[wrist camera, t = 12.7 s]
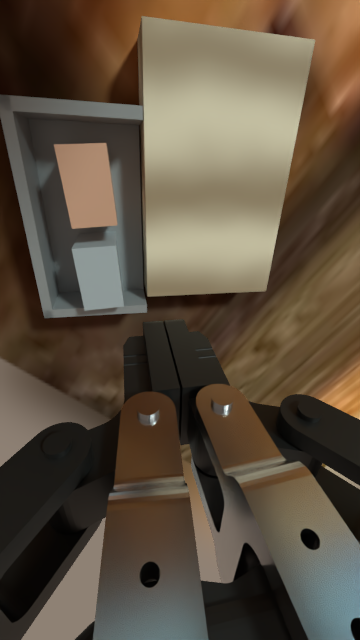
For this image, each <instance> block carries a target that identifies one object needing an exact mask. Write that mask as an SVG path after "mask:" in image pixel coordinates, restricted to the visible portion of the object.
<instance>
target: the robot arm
mask: <svg viewBox="0 0 360 640" xmlns="http://www.w3.org/2000/svg"><path fill="white" fill-rule="evenodd" d="M123 350H124V397H125V399H124V404H123V407H122V409H121V410H120V412H119V413H118V414H117V415H116V416H115V417H114V418H113V419H111V420H110V421H108V422H107V423H105V424H102V425H100V426H97V427H95V428H93V429H90V430H87V429H86V428H85V427H83V426H82V425H80V424H77V423H72V422H66V423H59V424H55V425H53V426H50V427H48V428H46V429H45V430H43V431H41V432H40V433H39V434H37V435H36V436H35V437H34V438H33V439H32V440H31V441H29V442H28V443H27V444H26V445H25V446H24V447H22V448H21V449H20V450H19V451H18V452H17V453H16V454H14V455H13V456H12V457H11V458H10V459H9V460H8V461H7V462H5V463H4V464H3V465H2V466H1V467H0V640H21V639H22V637H23V636H24V634H25V633H26V631H27V630H28V629H29V627H30V626H31V624H32V623H33V621H34V620H35V618H36V617H37V615H38V614H39V613H40V611H41V610H42V608H43V607H44V605H45V604H46V602H47V601H48V599H49V598H50V597H51V595H52V594H53V592H54V591H55V589H56V588H57V586H58V585H59V584H60V582H61V581H62V579H63V578H64V576H65V575H66V573H67V572H68V570H69V569H70V567H71V566H72V565H73V563H74V562H75V560H76V558H77V557H78V556H79V554H80V553H81V551H82V550H83V549H84V547H85V546H86V544H87V543H88V541H89V540H90V538H91V537H92V536H93V534H94V532H95V531H96V530H97V528H98V527H99V525H100V523H101V521H102V519H103V518H105V517H106V521H105V531H104V540H103V549H102V559H101V569H100V578H99V587H98V597H97V606H96V615H95V621H94V622H93V623H91V624H90V625H89V626H88V627H87V628H86V629H85V630H84V631H83V632H82V633H81V634H80V635H79V636H78V637H77V638H76V639H75V640H360V490H359V489H358V488H356V487H355V486H353V485H351V484H349V483H348V482H346V481H345V480H343V479H341V478H340V477H338V476H337V475H335V474H333V473H332V472H330V471H329V470H327V469H325V468H324V467H322V466H321V465H322V463H324V464H325V465H327V466H329V467H330V468H332V469H333V470H335V471H337V472H338V473H340V474H342V475H343V476H345V477H347V478H348V479H350V480H351V481H353V482H355V483H356V484H358V485H360V420H359V419H357V418H355V417H353V416H351V415H349V414H347V413H345V412H343V411H341V410H339V409H337V408H335V407H332V406H330V405H328V404H326V403H324V402H322V401H320V400H318V399H316V398H314V397H311V396H307V395H301V394H295V395H290V396H288V397H286V398H285V399H284V400H283V401H282V402H281V405H280V407H277V406H269V405H262V404H256V403H253V402H250V401H248V400H247V399H246V397H245V396H244V395H243V394H242V393H241V392H240V391H239V390H238V389H236V388H234V387H232V386H230V384H229V382H228V380H227V378H226V376H225V374H224V372H223V370H222V368H221V365H220V363H219V361H218V359H217V357H216V355H215V353H214V351H213V350H212V347H211V344H210V342H209V340H208V338H206V337H205V336H204V335H202V334H201V333H200V332H199V331H197V332H189V331H188V329H187V326H186V324H185V321H184V320H183V319H181V320H167V321H164V322H163V321H154V322H143V336H135V337H129V338H128V340H127V341H126V343H125V344H124V346H123ZM179 440H180V441H179ZM184 444H190V449H191V453H192V461H191V467H192V471H193V475H194V478H195V481H196V484H197V487H198V491H199V494H200V497H201V500H202V503H203V507H204V510H205V513H206V516H207V520H208V522H209V526H210V529H211V533H212V536H213V540H214V545H215V552H216V560H217V566H218V571H219V575H220V579H221V582H222V583H216V582H207V581H201V580H200V571H199V564H198V556H197V549H196V541H195V533H194V526H193V518H192V511H191V503H190V496H189V491H188V486H187V484H186V483H185V480H184V474H183V466H182V457H181V449H180V445H184Z"/></svg>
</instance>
